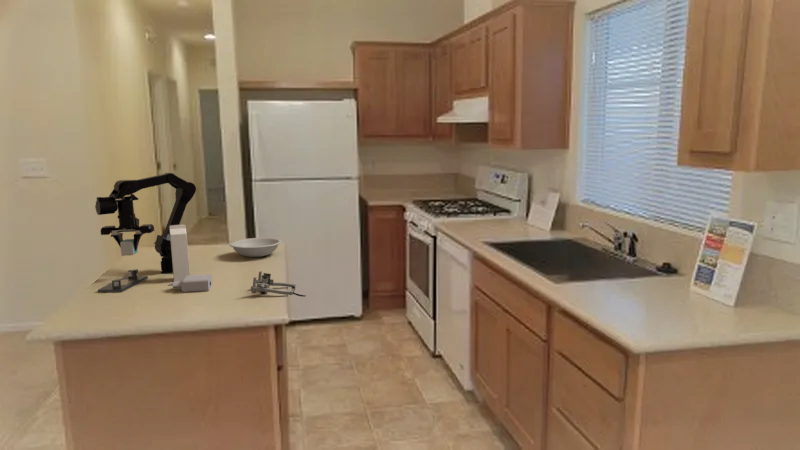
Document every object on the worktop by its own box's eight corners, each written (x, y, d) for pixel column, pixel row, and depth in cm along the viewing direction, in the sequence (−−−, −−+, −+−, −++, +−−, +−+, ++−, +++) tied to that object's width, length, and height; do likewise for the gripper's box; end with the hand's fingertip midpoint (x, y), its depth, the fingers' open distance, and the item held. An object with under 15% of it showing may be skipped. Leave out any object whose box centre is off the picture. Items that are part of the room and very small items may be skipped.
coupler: (133, 255, 228) (131, 241, 227) (121, 255, 227) (120, 242, 226) (138, 251, 234) (137, 238, 233) (126, 252, 234) (125, 239, 233)
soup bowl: (276, 261, 259) (275, 247, 258) (223, 262, 259) (222, 247, 258) (287, 250, 283) (286, 237, 282) (238, 251, 283) (237, 237, 282)
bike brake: (247, 296, 202) (304, 302, 203) (249, 277, 201) (306, 284, 202) (255, 286, 215) (309, 292, 217) (257, 268, 214) (311, 275, 216)
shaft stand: (147, 278, 233) (146, 268, 232) (121, 292, 213) (120, 281, 212) (126, 278, 233) (125, 268, 232) (97, 292, 213) (96, 281, 212)
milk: (190, 280, 228) (186, 225, 225) (174, 282, 226) (169, 226, 222) (189, 276, 234) (185, 223, 230) (173, 278, 232) (169, 224, 228)
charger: (171, 287, 218) (212, 285, 221) (165, 294, 209) (208, 291, 212) (170, 275, 218) (211, 273, 220) (164, 281, 209) (207, 279, 211)
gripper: (156, 208, 237) (159, 245, 240) (108, 210, 234) (112, 247, 237) (148, 212, 226) (152, 251, 229) (98, 214, 224) (102, 253, 226)
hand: (129, 250), depth 230 cm, fingers closed on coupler, 4 cm apart
